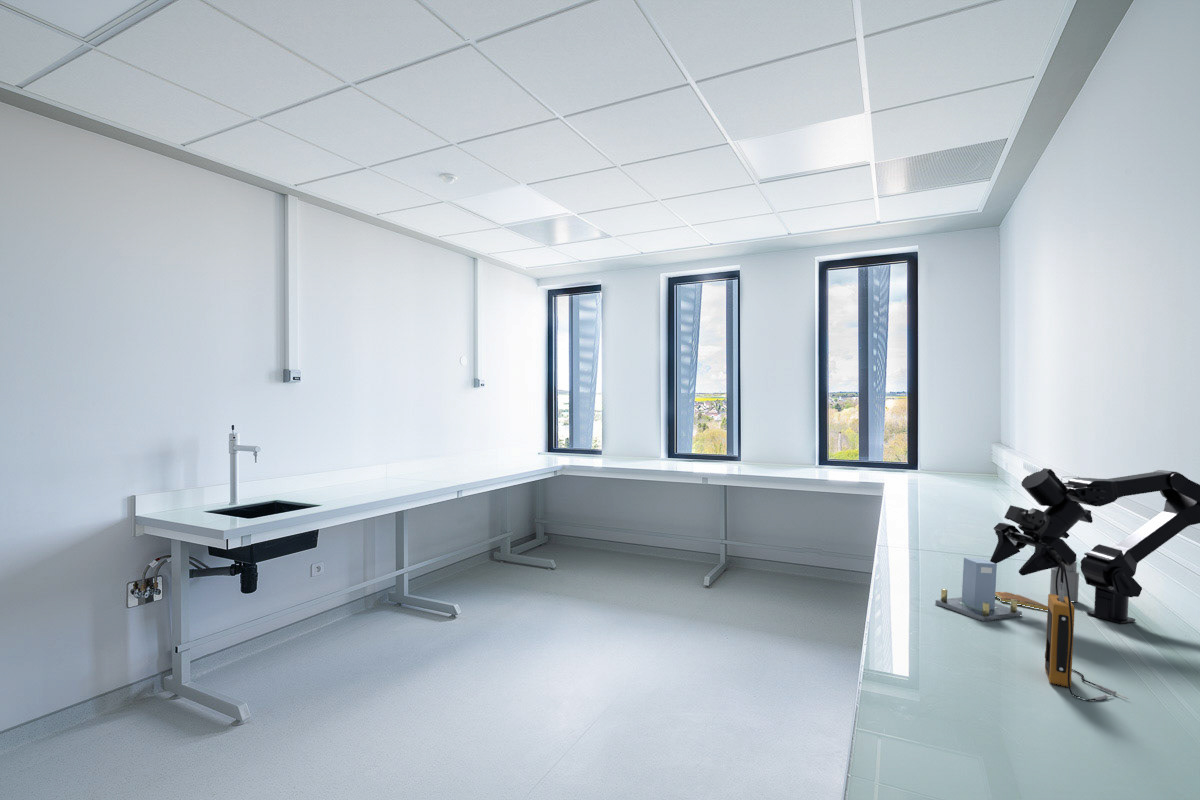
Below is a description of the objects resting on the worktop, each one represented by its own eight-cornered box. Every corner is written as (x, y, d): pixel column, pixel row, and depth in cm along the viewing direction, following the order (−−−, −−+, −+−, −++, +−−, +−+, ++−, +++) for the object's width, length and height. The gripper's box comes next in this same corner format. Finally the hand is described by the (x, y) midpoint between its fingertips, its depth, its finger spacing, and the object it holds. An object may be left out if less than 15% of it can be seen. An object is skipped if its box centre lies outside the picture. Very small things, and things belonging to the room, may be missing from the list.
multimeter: (1137, 714, 86) (1143, 578, 87) (1052, 693, 92) (1058, 565, 92) (1115, 678, 99) (1121, 559, 99) (1041, 662, 104) (1047, 549, 104)
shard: (1054, 615, 133) (1054, 607, 133) (1023, 614, 132) (1024, 606, 132) (1015, 599, 144) (1016, 592, 144) (987, 598, 143) (987, 591, 143)
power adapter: (1077, 603, 142) (1080, 553, 142) (1049, 598, 145) (1051, 549, 146) (1077, 600, 144) (1080, 552, 145) (1050, 595, 148) (1052, 547, 148)
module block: (981, 602, 134) (983, 558, 134) (994, 609, 130) (996, 564, 130) (961, 601, 134) (963, 557, 134) (974, 608, 130) (976, 562, 130)
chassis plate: (972, 600, 139) (973, 585, 139) (1021, 616, 129) (1022, 600, 129) (935, 604, 134) (936, 589, 134) (983, 621, 124) (984, 605, 124)
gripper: (1002, 489, 142) (955, 533, 141) (1064, 501, 123) (1010, 551, 123) (1034, 523, 141) (987, 567, 141) (1100, 540, 123) (1046, 591, 123)
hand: (1005, 568), depth 132 cm, fingers open, 9 cm apart
